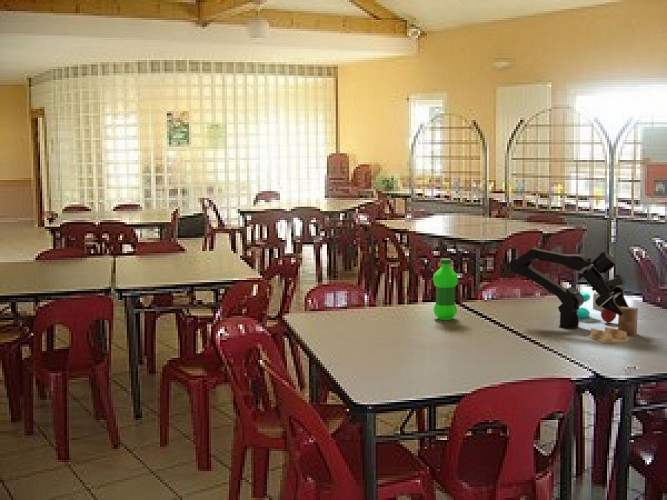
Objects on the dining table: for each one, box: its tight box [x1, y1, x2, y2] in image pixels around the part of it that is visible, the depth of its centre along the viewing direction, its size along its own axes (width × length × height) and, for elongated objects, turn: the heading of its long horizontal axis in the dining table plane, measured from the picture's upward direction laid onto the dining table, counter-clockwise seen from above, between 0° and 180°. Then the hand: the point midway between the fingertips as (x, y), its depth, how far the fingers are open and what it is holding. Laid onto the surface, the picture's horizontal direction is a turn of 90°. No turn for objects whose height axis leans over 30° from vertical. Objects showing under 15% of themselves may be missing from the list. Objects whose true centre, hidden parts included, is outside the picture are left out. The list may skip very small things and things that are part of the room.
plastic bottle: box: [432, 257, 459, 321], centre depth 327 cm, size 10×10×25 cm
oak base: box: [588, 326, 629, 345], centre depth 291 cm, size 10×9×4 cm
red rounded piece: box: [600, 308, 617, 324], centre depth 318 cm, size 6×6×8 cm
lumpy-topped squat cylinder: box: [592, 291, 620, 312], centre depth 347 cm, size 10×13×9 cm
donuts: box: [576, 291, 591, 319], centre depth 331 cm, size 10×10×10 cm
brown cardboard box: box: [617, 306, 639, 337], centre depth 299 cm, size 6×4×10 cm, turn 54°
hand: (625, 312), depth 299 cm, fingers open, 9 cm apart
